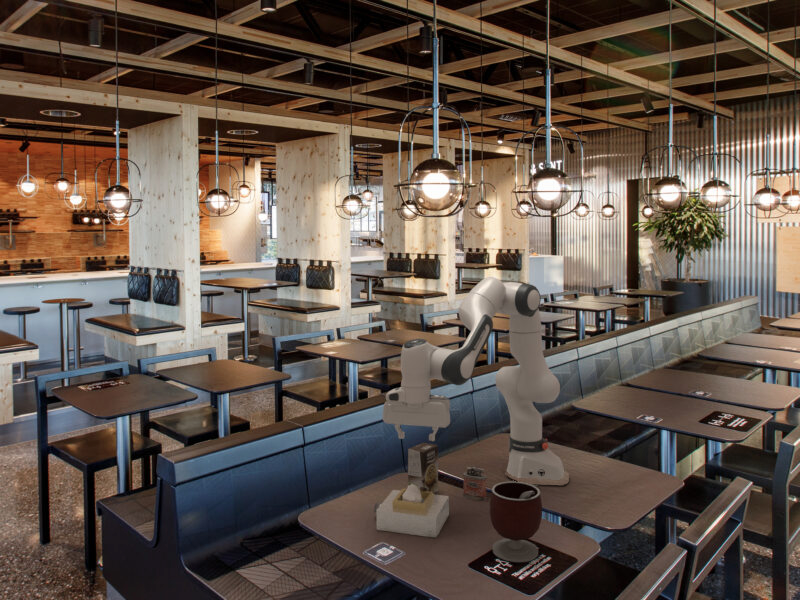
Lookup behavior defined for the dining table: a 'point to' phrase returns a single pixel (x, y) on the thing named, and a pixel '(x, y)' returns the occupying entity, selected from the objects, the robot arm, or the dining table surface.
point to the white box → (413, 514)
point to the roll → (412, 494)
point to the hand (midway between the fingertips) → (416, 439)
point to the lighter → (474, 483)
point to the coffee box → (423, 467)
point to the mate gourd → (515, 519)
